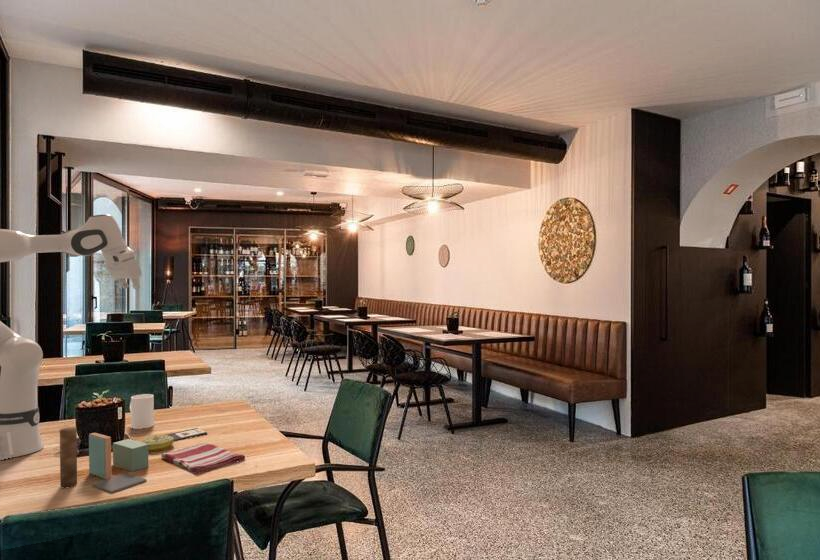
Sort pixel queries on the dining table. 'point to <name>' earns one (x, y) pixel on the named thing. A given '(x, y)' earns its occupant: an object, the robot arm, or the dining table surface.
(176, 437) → the chocolate bar
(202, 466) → the dish towel
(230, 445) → the dining table surface
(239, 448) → the dining table surface
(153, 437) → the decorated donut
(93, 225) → the robot arm
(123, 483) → the coaster
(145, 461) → the sage green block
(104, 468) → the tile
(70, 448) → the dowel
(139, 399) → the mug
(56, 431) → the dining table surface
